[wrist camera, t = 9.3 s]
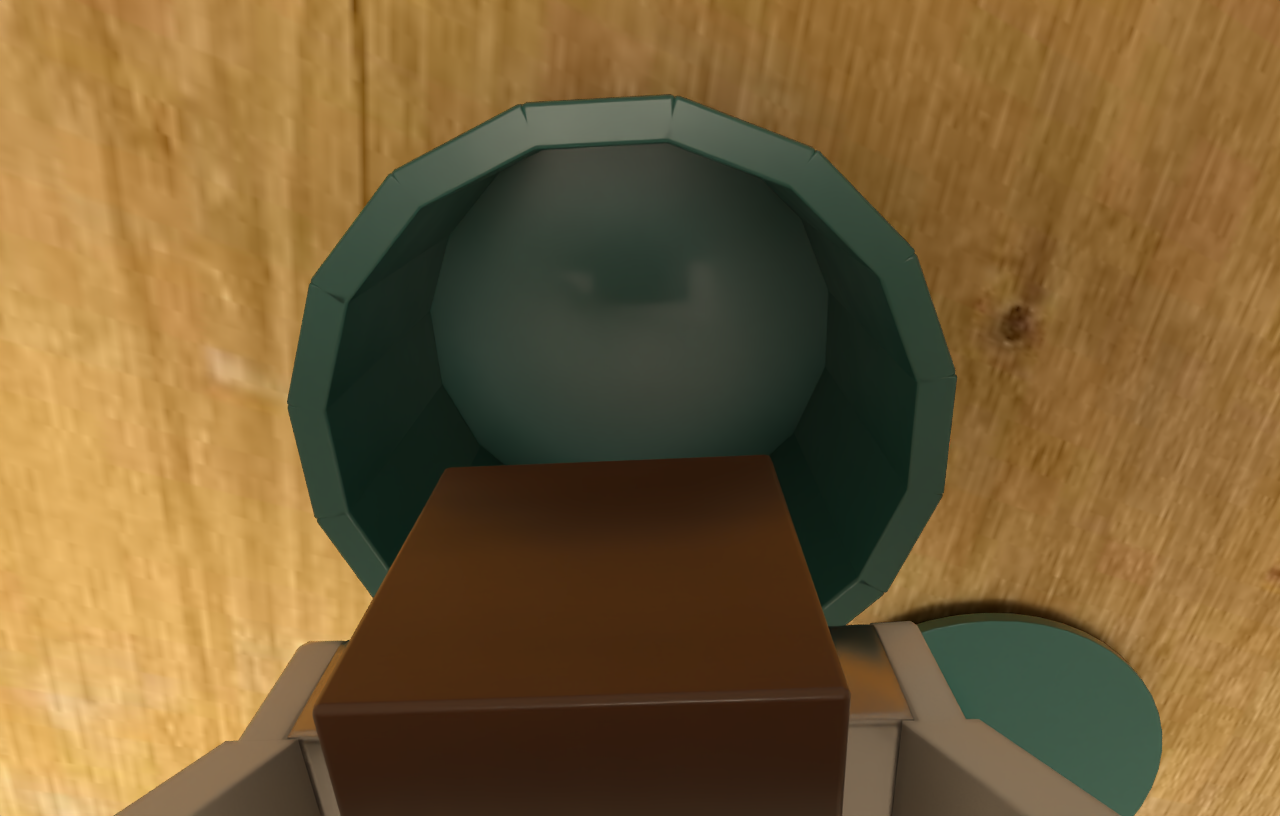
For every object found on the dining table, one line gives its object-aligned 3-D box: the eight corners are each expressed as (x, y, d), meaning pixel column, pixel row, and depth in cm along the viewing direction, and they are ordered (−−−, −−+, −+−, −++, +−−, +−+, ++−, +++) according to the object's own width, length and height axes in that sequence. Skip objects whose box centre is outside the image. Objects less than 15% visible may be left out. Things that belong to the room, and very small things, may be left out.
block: (444, 465, 10) (306, 710, 6) (771, 451, 10) (853, 693, 6) (485, 715, 12) (400, 1039, 8) (766, 706, 12) (829, 1031, 8)
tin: (375, 112, 21) (213, 119, 13) (862, 85, 21) (993, 75, 13) (448, 529, 26) (361, 712, 18) (838, 514, 26) (921, 694, 18)
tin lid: (775, 608, 27) (804, 727, 22) (1182, 594, 27) (1309, 711, 22) (769, 881, 33) (792, 1027, 28) (1107, 873, 32) (1194, 1020, 27)
